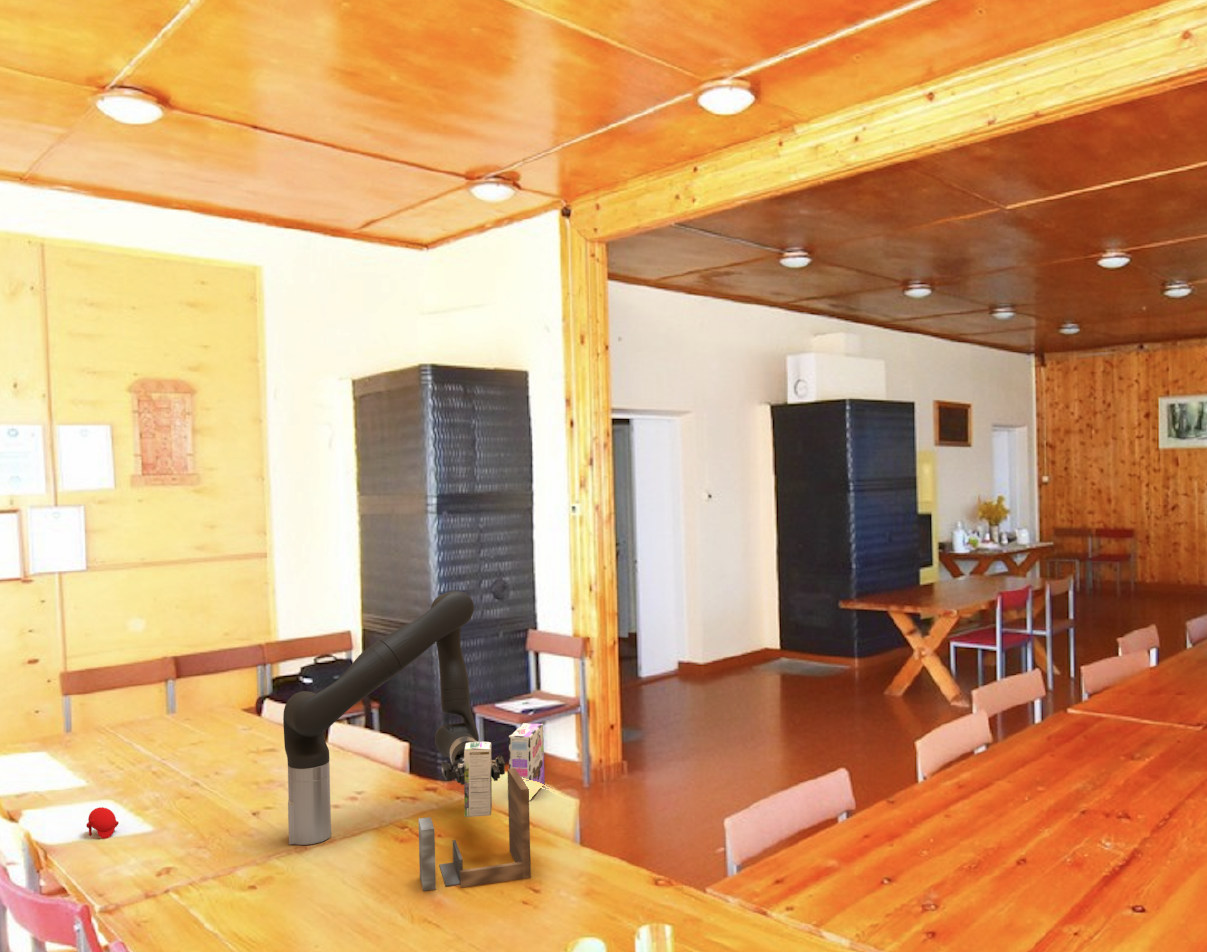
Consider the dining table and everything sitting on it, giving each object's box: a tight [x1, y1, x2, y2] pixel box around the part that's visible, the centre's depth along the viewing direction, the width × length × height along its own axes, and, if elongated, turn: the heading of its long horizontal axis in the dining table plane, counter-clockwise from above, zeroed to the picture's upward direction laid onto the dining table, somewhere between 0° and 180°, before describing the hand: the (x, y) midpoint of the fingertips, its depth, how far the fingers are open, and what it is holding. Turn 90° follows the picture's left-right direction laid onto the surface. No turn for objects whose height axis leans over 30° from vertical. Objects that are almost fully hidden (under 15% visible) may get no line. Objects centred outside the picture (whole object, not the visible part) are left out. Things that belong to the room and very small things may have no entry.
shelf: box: [418, 768, 532, 892], centre depth 195 cm, size 22×15×18 cm
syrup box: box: [463, 741, 493, 818], centre depth 203 cm, size 6×6×14 cm
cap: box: [86, 806, 120, 840], centre depth 222 cm, size 8×6×6 cm
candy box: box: [508, 722, 546, 785], centre depth 245 cm, size 14×6×16 cm, turn 168°
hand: (479, 778), depth 200 cm, fingers closed on syrup box, 6 cm apart
